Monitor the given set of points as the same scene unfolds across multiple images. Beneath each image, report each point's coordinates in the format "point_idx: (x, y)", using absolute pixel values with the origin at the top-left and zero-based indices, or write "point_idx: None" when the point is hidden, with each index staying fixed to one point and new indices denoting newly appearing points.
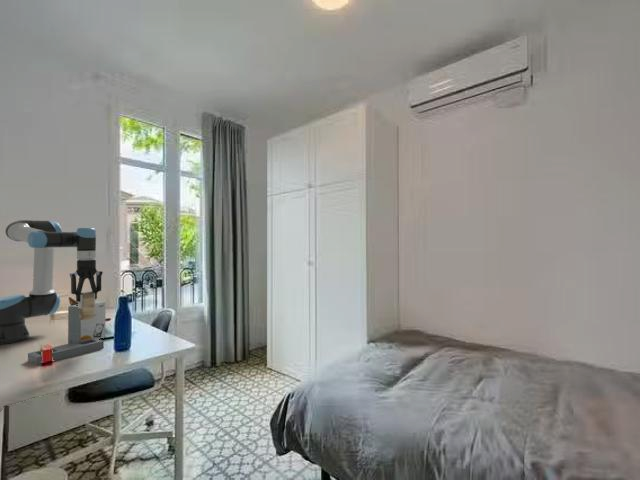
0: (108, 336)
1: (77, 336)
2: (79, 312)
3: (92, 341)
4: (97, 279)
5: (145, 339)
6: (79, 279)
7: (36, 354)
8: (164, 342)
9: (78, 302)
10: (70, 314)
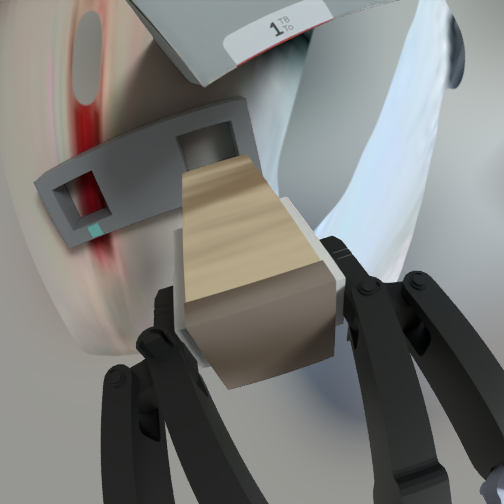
0: None
1: (183, 73)
2: (183, 195)
3: (232, 130)
4: (472, 424)
5: (379, 170)
6: None
7: (60, 217)
8: (385, 239)
9: (175, 268)
10: (142, 21)
